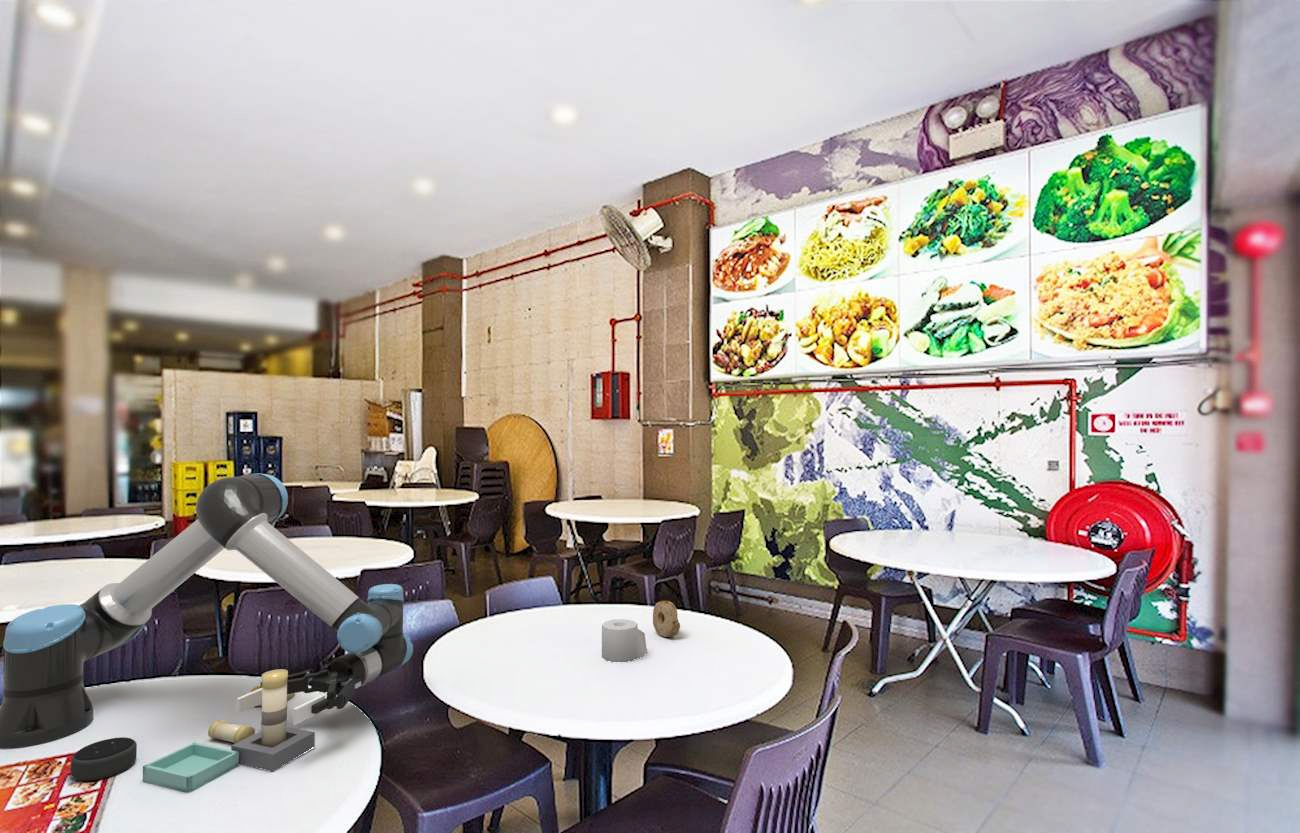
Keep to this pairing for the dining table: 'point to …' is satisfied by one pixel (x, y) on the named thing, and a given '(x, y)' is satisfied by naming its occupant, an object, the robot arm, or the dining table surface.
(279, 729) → the fuse
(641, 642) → the toilet tissue
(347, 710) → the dining table surface
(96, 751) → the smart speaker
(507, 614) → the dining table surface
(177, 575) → the robot arm
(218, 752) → the parts tray
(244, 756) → the socket block
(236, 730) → the fuse
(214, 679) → the dining table surface
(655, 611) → the stone disc
